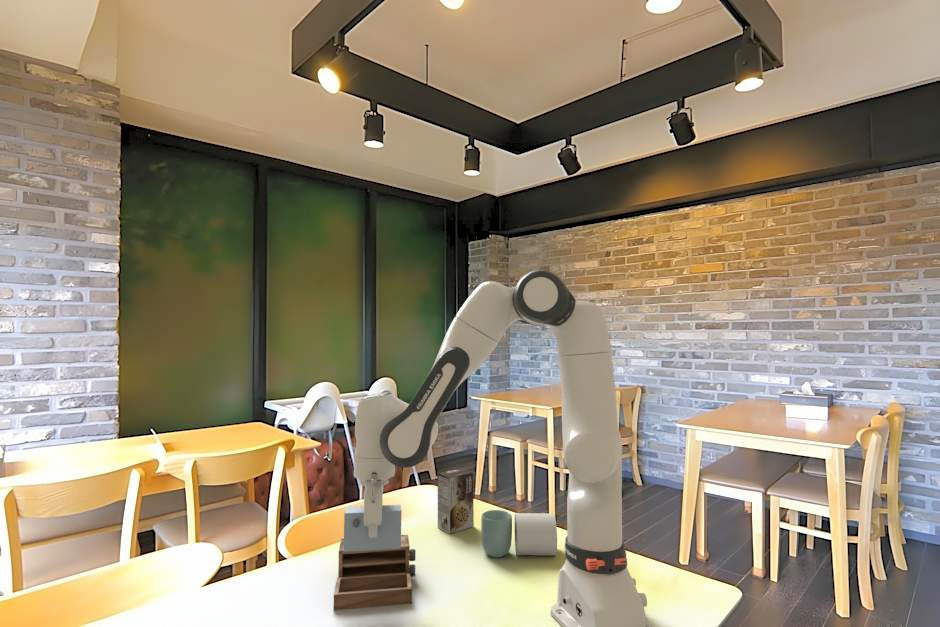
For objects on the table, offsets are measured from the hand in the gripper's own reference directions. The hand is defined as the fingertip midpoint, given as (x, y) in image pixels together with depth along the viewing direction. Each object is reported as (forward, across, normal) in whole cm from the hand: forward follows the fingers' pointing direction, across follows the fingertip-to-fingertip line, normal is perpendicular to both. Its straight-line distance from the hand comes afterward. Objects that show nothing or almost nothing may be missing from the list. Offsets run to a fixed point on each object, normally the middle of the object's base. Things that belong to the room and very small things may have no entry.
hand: (373, 531), depth 111 cm
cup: (+14, +17, -31) cm, 38 cm away
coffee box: (+14, +37, -23) cm, 46 cm away
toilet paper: (+14, +16, -41) cm, 46 cm away
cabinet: (+14, +5, -1) cm, 15 cm away
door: (+3, 0, 0) cm, 3 cm away
